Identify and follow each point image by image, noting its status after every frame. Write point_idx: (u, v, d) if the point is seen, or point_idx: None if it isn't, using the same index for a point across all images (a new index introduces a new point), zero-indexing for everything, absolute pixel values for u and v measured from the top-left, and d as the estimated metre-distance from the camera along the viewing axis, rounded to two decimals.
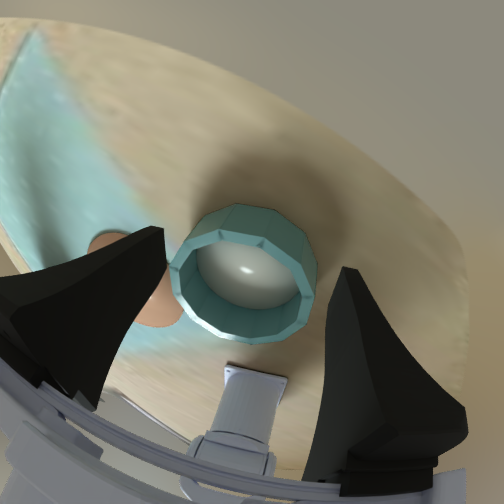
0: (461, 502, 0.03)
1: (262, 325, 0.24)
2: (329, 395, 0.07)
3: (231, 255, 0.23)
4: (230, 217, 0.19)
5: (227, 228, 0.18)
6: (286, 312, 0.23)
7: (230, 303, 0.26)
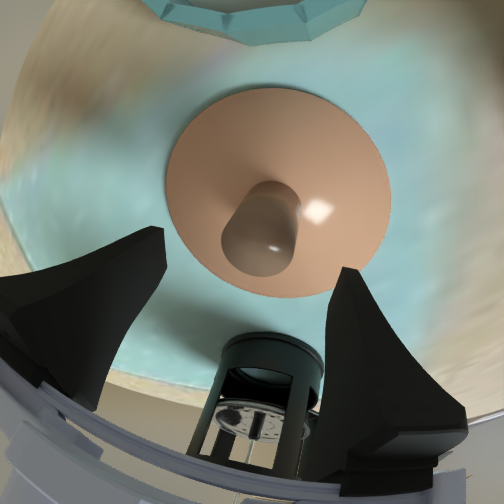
0: (462, 502, 0.03)
1: None
2: (329, 395, 0.07)
3: None
4: None
5: None
6: None
7: None
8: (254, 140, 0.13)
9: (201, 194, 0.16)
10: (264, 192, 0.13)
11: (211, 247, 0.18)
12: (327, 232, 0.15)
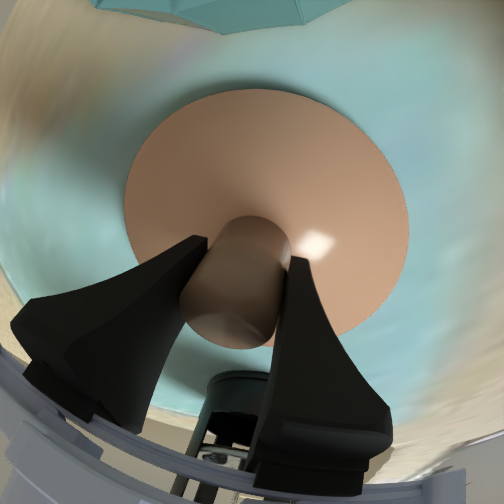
0: (462, 502, 0.03)
1: None
2: (268, 384, 0.08)
3: None
4: None
5: None
6: None
7: None
8: (227, 163, 0.10)
9: (165, 230, 0.12)
10: (237, 238, 0.10)
11: None
12: (324, 279, 0.12)
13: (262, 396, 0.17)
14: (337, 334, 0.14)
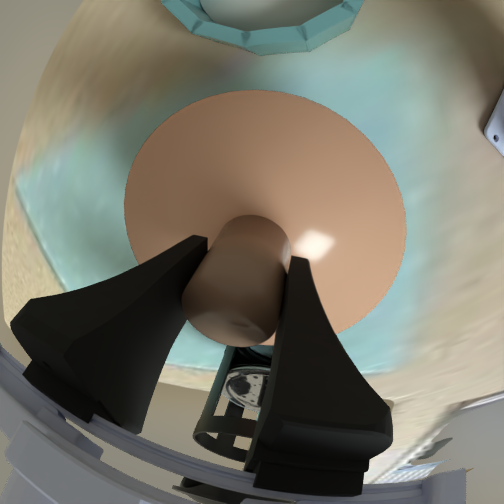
0: (461, 502, 0.03)
1: None
2: (268, 384, 0.08)
3: None
4: None
5: None
6: None
7: None
8: (227, 163, 0.10)
9: (166, 229, 0.12)
10: (238, 236, 0.10)
11: None
12: (323, 277, 0.12)
13: None
14: (336, 332, 0.14)
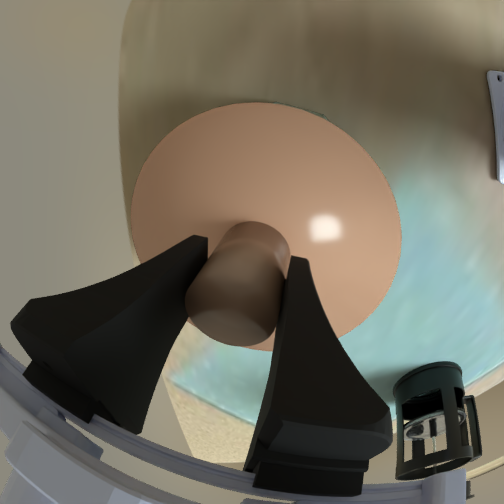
0: (462, 502, 0.03)
1: None
2: (267, 384, 0.08)
3: None
4: None
5: None
6: None
7: None
8: (219, 175, 0.11)
9: (171, 245, 0.13)
10: (235, 240, 0.10)
11: None
12: (326, 275, 0.12)
13: (424, 380, 0.23)
14: (347, 330, 0.14)
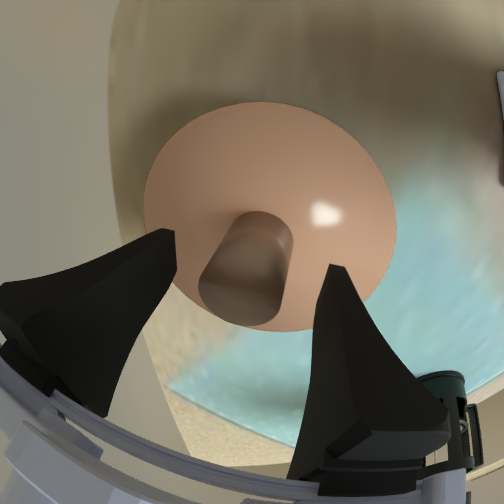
0: (462, 502, 0.03)
1: None
2: (313, 392, 0.07)
3: None
4: None
5: None
6: None
7: None
8: (227, 168, 0.12)
9: (182, 233, 0.14)
10: (243, 230, 0.11)
11: None
12: (326, 260, 0.13)
13: None
14: None
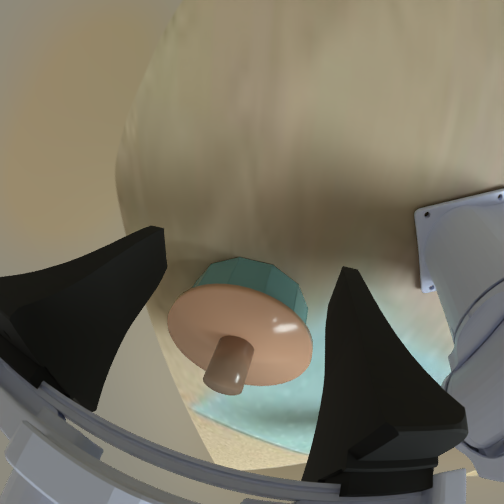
0: (461, 502, 0.03)
1: None
2: (329, 395, 0.07)
3: None
4: None
5: None
6: None
7: None
8: (212, 317, 0.22)
9: (193, 340, 0.24)
10: (223, 351, 0.21)
11: (208, 364, 0.26)
12: (273, 356, 0.23)
13: None
14: (293, 378, 0.24)
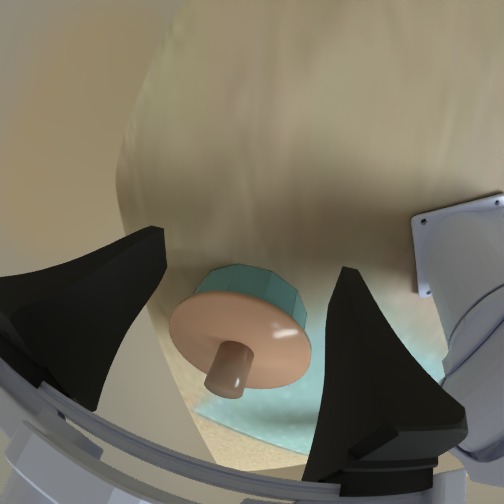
0: (462, 501, 0.03)
1: None
2: (329, 395, 0.07)
3: None
4: None
5: None
6: None
7: None
8: (212, 323, 0.22)
9: (194, 345, 0.25)
10: (223, 356, 0.21)
11: (210, 368, 0.26)
12: (273, 361, 0.23)
13: None
14: (292, 381, 0.24)
